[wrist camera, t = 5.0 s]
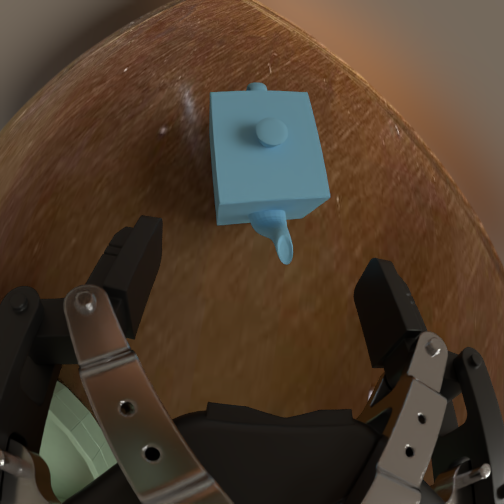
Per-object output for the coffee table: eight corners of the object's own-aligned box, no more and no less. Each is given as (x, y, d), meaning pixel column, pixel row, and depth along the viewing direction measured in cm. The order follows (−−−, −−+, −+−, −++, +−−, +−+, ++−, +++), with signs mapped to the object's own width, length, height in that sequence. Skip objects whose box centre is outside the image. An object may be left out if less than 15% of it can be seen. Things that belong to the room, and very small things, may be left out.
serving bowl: (-3, 464, 15) (-22, 480, 10) (-24, 334, 17) (-53, 339, 12) (124, 521, 16) (116, 548, 12) (119, 391, 19) (99, 413, 14)
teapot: (304, 265, 21) (349, 256, 14) (221, 275, 21) (226, 270, 13) (281, 121, 23) (307, 64, 15) (208, 124, 22) (209, 62, 14)
